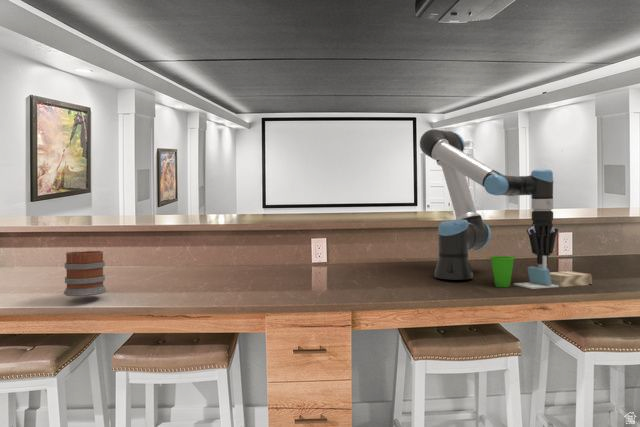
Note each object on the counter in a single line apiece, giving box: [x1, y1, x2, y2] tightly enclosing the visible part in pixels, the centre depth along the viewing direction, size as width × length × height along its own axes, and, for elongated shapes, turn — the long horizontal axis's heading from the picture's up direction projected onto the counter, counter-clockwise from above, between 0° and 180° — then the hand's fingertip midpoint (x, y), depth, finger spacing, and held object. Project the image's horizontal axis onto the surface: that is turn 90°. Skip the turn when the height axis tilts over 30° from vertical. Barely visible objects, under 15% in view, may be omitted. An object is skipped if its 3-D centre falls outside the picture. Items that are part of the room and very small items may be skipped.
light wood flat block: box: [549, 270, 593, 288], centre depth 192 cm, size 15×10×4 cm, turn 108°
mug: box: [63, 250, 107, 297], centre depth 182 cm, size 14×19×15 cm
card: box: [526, 265, 552, 286], centre depth 188 cm, size 6×9×2 cm
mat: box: [513, 281, 560, 290], centre depth 188 cm, size 12×10×1 cm
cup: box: [489, 255, 516, 288], centre depth 188 cm, size 9×9×11 cm
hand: (542, 272), depth 188 cm, fingers closed
